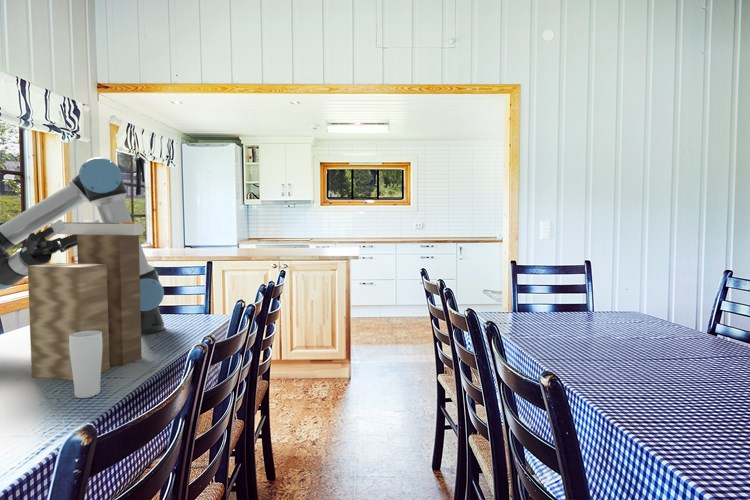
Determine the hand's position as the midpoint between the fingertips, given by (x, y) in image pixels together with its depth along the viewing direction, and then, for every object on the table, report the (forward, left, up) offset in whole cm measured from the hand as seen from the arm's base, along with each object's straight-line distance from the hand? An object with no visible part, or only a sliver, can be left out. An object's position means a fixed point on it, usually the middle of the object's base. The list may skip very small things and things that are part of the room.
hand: (82, 223), depth 135 cm
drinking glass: (-6, +34, -41) cm, 54 cm away
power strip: (-4, +3, -3) cm, 6 cm away
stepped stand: (-3, +9, -41) cm, 42 cm away
